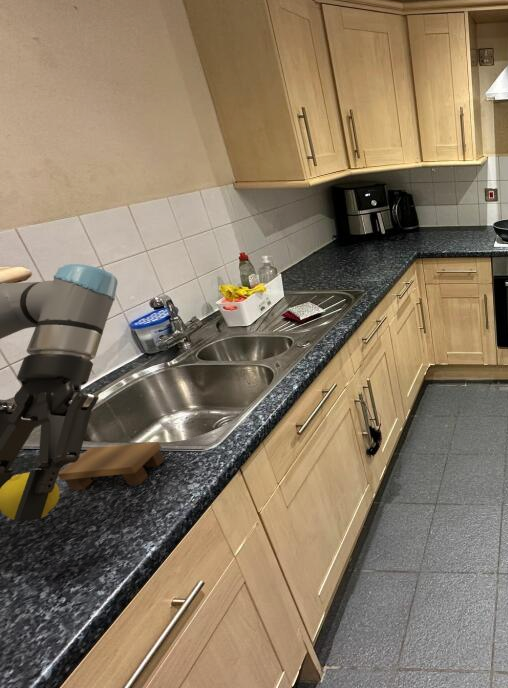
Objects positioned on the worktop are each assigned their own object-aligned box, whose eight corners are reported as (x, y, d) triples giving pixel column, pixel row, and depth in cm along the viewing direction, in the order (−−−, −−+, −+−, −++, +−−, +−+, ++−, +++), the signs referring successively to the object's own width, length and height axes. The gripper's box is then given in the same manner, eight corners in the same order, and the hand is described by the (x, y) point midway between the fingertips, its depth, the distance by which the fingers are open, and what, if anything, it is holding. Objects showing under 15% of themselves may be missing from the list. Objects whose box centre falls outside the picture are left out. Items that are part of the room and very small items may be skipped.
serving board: (69, 493, 80) (56, 474, 78) (101, 466, 86) (89, 448, 84) (142, 486, 80) (131, 466, 78) (167, 460, 86) (158, 441, 84)
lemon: (31, 509, 62) (1, 469, 58) (77, 495, 63) (51, 456, 60) (6, 539, 57) (-27, 497, 54) (57, 524, 59) (28, 483, 56)
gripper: (140, 359, 68) (98, 513, 59) (28, 368, 67) (-31, 525, 59) (97, 346, 61) (43, 519, 52) (-28, 356, 61) (-105, 532, 52)
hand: (4, 522), depth 56 cm, fingers closed on lemon, 5 cm apart
